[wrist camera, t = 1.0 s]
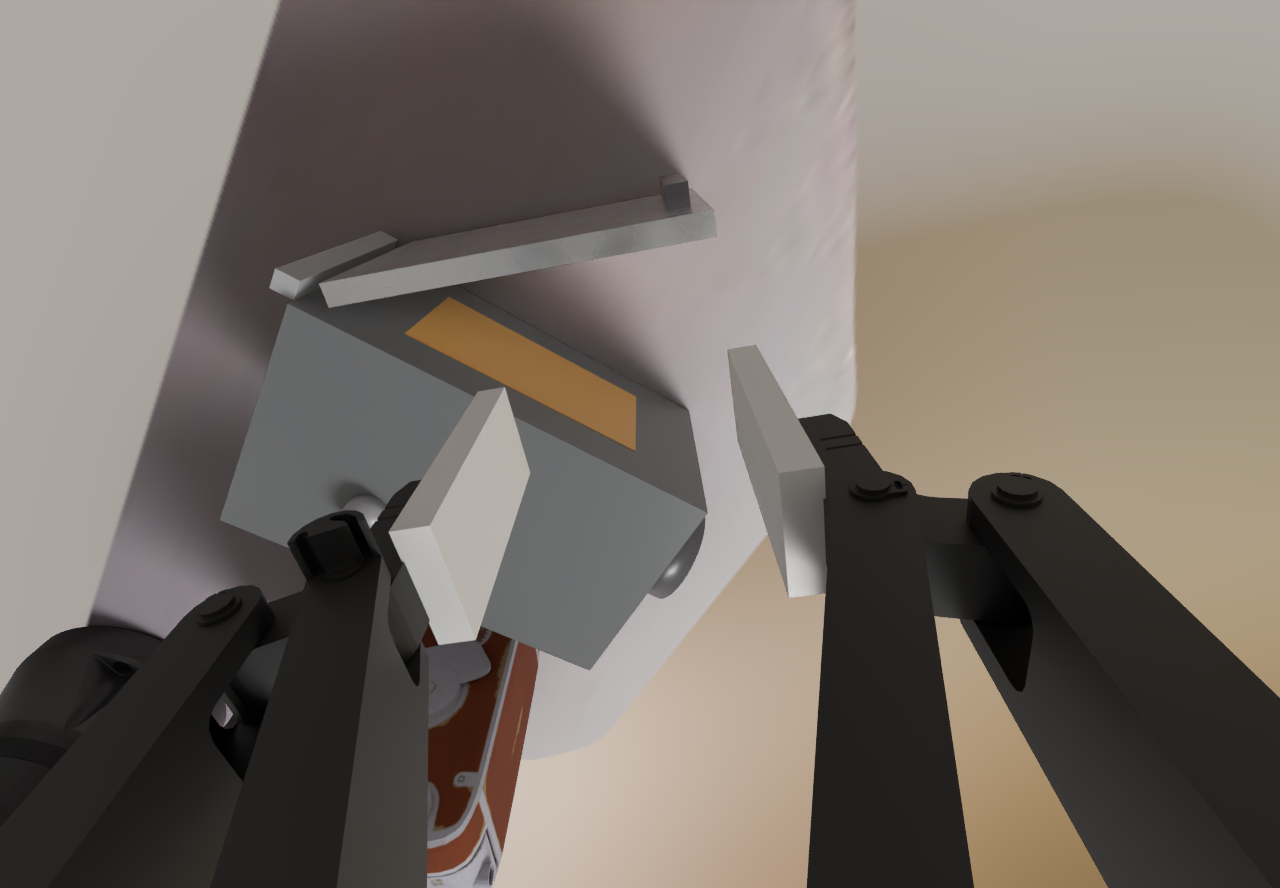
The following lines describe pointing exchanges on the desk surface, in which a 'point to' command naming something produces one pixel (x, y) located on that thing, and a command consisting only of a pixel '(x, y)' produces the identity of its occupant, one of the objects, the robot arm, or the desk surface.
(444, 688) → the cine camera
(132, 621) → the desk surface
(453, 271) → the side door
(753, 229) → the desk surface
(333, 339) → the grey cabinet with knob
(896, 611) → the robot arm
